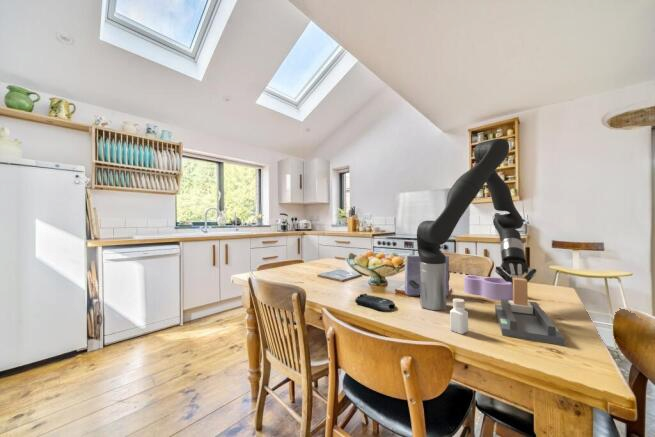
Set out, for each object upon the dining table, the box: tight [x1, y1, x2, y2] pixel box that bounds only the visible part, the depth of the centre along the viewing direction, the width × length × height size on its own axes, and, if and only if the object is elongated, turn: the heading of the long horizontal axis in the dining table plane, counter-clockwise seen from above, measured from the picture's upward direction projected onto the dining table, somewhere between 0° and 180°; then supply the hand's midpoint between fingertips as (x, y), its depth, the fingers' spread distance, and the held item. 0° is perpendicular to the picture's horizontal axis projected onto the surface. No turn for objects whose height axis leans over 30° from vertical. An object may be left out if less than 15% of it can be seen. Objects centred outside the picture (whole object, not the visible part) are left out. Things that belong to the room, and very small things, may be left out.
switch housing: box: [494, 298, 566, 347], centre depth 82 cm, size 22×14×5 cm, turn 152°
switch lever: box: [508, 277, 533, 314], centre depth 88 cm, size 5×6×11 cm
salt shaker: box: [449, 298, 469, 335], centre depth 79 cm, size 4×4×10 cm
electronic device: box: [354, 293, 396, 312], centre depth 103 cm, size 9×6×15 cm
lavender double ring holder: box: [463, 274, 513, 302], centre depth 113 cm, size 20×12×7 cm, turn 47°
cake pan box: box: [404, 254, 451, 297], centre depth 115 cm, size 19×5×18 cm, turn 85°
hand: (518, 291), depth 91 cm, fingers closed
